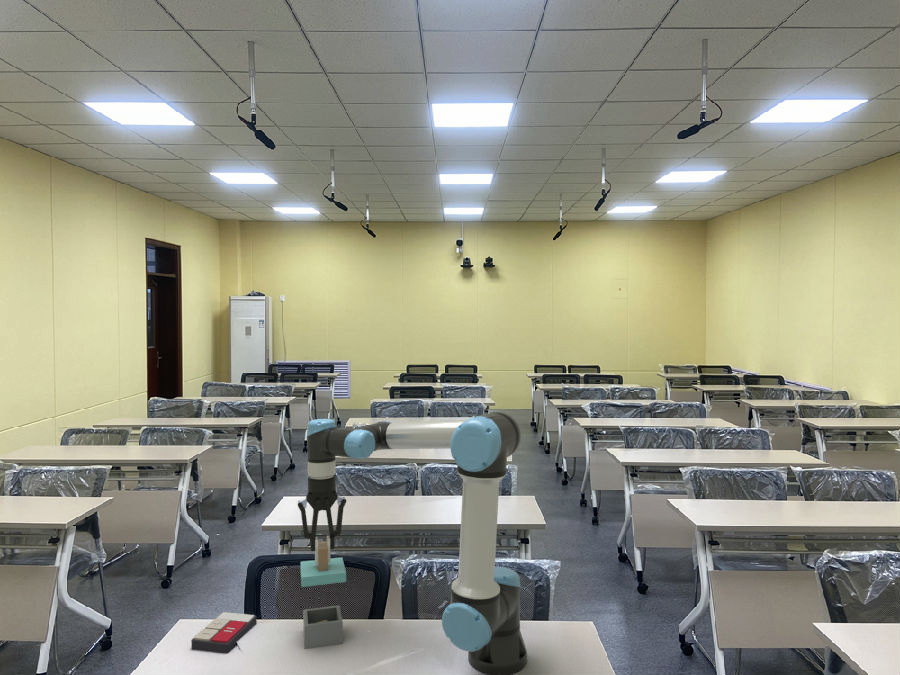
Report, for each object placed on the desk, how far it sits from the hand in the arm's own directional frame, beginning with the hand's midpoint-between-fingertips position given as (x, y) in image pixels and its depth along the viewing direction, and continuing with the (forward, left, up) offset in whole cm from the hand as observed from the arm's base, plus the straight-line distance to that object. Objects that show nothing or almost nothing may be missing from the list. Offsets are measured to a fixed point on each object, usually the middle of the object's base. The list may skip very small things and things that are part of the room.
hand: (322, 561), depth 165 cm
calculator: (+9, +26, -23) cm, 36 cm away
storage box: (0, 0, -22) cm, 22 cm away
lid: (0, 0, -4) cm, 4 cm away
